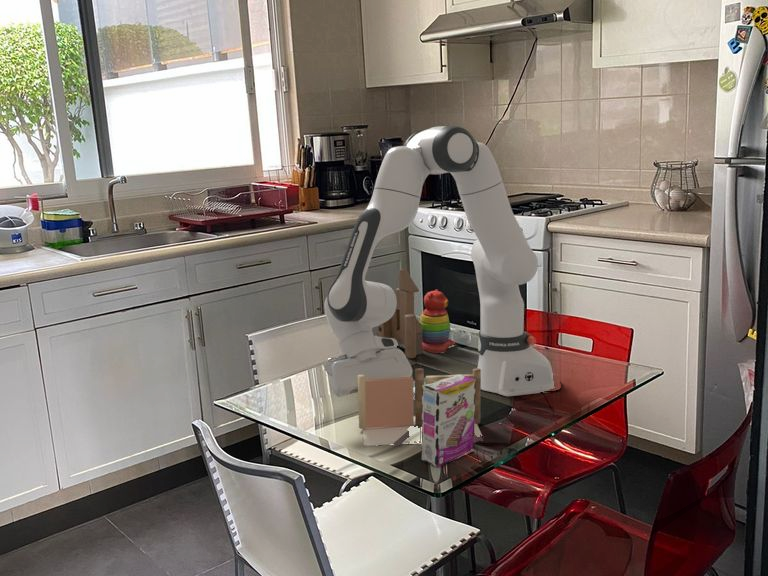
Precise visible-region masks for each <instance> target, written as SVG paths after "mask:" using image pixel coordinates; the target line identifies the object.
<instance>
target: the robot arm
mask: <svg viewBox="0 0 768 576" xmlns="http://www.w3.org/2000/svg"><path fill="white" fill-rule="evenodd" d="M447 173H450V174H451V176H452V177H453V179H454V181H455V185H456V187H457V191H458V195H459V197H460V200H461V203H462V207H463V209H464V213H465V216H466V219H467V222H468V224H469V226H470V227H471V229H472V231H473V232H474V234H475V236H476V238H477V239H476V240H474V242H473V244H472V245H471V249H470V257H471V260H472V262H473V265H474V270H475V276H476V277H475V279H476V282H477V283H476V284H477V288H478V289H477V290H478V293H479V294H478V295H479V304H480V314H479V315H480V327H479V328H480V330H478V337H477V342H478V343H477V350H478V351H477V352H478V362H477V368H478V369H481V391H485V392H489V393H490V392H491V393H494V394H498V395H502V396H505V397H514V396H515V397H516V396H523V395H524V396H525V395H532V394H541V393H540V392H543V393H545V392H544V391H548V390H550V389H553V388H555V387H554V381H553V374H554V373H553V369H552V364H551V362H550V360H549V359H548V358H547V357H546V356H545V355H543V354H542V353H541V352H539V351H538V350H537V349H535V348H534V347H533V346H534V345H535V344H537V339H536V338H535V337H534V336H533V335H531V334H530V333H528V332H527V331H526V330H525V331H524V327H525V326H524V324H525V322H524V321H525V320H524V319H525V317H524V315H525V302H524V300H523V297H522V295H521V292H520V287H519V286H520V285H521V286H522V285H524V284H527V283H529V282H530V281H531V280H533V278H534V277H535V276H536V274H537V272H538V268H539V260H538V257H537V255H536V253H535V252H534V251H533V249H532V248H531V246H530V244H529V242H528V240H527V238H526V236H525V234H524V232H523V230H522V228H521V225H520V224H519V222H518V220H517V219H516V218H517V217H516V216H515V214H514V212H513V208H512V206H511V203H510V201H509V197H508V193H507V190H506V188H505V184H504V180H503V178H502V175H501V172H500V169H499V167H498V164H497V162H496V160H495V158H494V155H493V154H492V152H491V150H490V148H489V147H488V145H486V144H485V143H483V142H479V141H476V140H475V138H474V137H473V135H472V134H471V133H470V132H469V131H468V130H467V129H465V128H464V127H461V126H458V125H444V126H443V125H441V126H439V125H438V126H433V127H429V128H428V129H427V128H426V129H425V130H424V129H423V130H418V131H416V132H414V133H413V134H411V135H410V136H409V137H408V138H407V139H406V140H405V143H404V144H403V145H400V146H394V147H391V148H389V149H388V151H387V152H386V153H385V154H384V158H383V160H382V162H381V165H380V167H379V171H378V174H377V177H376V179H375V183H374V187H373V188H374V189H373V192H372V195H371V199H370V201H369V202H368V205H367V207H366V208H365V210H363V211H362V212H361V213H360V214H359V216H358V218H357V220H356V222H355V224H354V227H353V230H352V232H351V235H350V238H349V239H348V240H349V241H348V244H347V246H346V250H345V251H344V255H343V258H342V261H341V263H340V266H339V269H338V272H337V274H336V276H334V277H335V278H334V279H333V281H332V282H331V284H330V286H329V289H328V291H327V296H326V298H325V300H324V302H323V303H324V307H323V308H324V313H325V317H326V320H327V323H328V326H329V328H330V330H331V333H332V335H333V336H334V338H336V340H337V345H338V350H339V352H340V354H341V355H338V356H333V357H329V358H327V360H325V362H324V365H323V366H324V370H325V372H326V374H327V375H328V379H329V382H330V386H331V390H332V392H333V394H334V395H335V396H336V397H345V396H348V395H353V394H358V375H361V374H363V375H366V380H370V379H384V378H399V377H413V371H414V370H413V368H412V366H411V364H410V361H409V360H408V358H406V356H405V352H404V351H402V350H401V349H400V348H399V347H397V346H398V343H397V341H396V339H393V338H385V337H379V336H377V335H374V332H373V329H374V328H377V327H378V326H380V325H382V324H384V323H385V322H387V321H389V320H390V319H391V318H392V317H393V316H394V314H395V312H396V309H397V296H396V294H395V289H394V288H393V287H391V285H388V284H385V283H383V282H382V283H381V282H377V281H369V280H366V275H367V271H368V269H369V266H370V263H371V260H372V257H373V254H374V250H375V248H376V246H377V244H378V243H379V242H380V241H381V240H382V239H384V238H385V237H387V236H389V235H392V234H395V233H398V232H401V231H403V230H405V229H406V228H408V227H409V226H411V225H412V224H413V223H414V220H415V218H416V215H417V214H418V210H419V206H420V201H421V197H422V192H423V186H424V183H425V181H426V179H427V177H428V176H429V175H443V174H447Z"/></svg>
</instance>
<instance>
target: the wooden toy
mask: <svg viewBox="0 0 768 576" xmlns="http://www.w3.org/2000/svg"><path fill="white" fill-rule="evenodd" d="M394 291H395V294H396V296H397V309H396V312H395V314H394V316H393V317H392V318H391V319H390V320H389V321H387V322H385V323H384V324H382V325H380V326H378V327H376V336H379V337H385V338H393V339H396V341H397V343H398V344H400V343H402V344H403V345H404V348H405V349H404V354H405V356H406V357H407V359H409V358H410V360H411V359H415V358H416V357H417V356H418V355H423V349H422V324H421V323H420V320H418V319H417V316H416V314H415V293H418V292H420V290H419V287H418V286H417V285H416V283H415V281H414V280H413V278H412V276H411V275H410V274H409V272H408V271H407V269H406V268H402V269H399V270H398V288H395V289H394Z"/></svg>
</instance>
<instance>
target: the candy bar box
mask: <svg viewBox="0 0 768 576" xmlns="http://www.w3.org/2000/svg"><path fill="white" fill-rule="evenodd" d="M454 375H455V376H452V377H448V378H445V379H442V380H439V381H435V382H432V383H429V384H426V383H424V385H422V444H421V461H423V462H424V463H426V462H427V464H428V463H430V464H432V465H434V466H433V467H435V466H436V467H435V468H439V467H441V466H444V465H446V464H448V462H449V461H451V460H453V459H455V458H457V457H459V456H461V455H463V454H465V453H466V452H468V451H470V450H471V449H473V448H474V449H475V442H474V423H475V383H476V380H475V379H473V378H470V377H467V376H464V375H465V374H460V373H458V374H454ZM453 461H454V460H453ZM451 462H452V461H451ZM445 463H446V464H445ZM449 463H450V462H449ZM430 464H429V465H430ZM443 464H444V465H443ZM432 465H431V466H432ZM438 466H439V467H438Z"/></svg>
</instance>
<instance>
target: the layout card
mask: <svg viewBox="0 0 768 576" xmlns="http://www.w3.org/2000/svg"><path fill="white" fill-rule="evenodd" d="M410 426H414V427H416V426H417V425H415V415H414V424H413V425H401V426H388V427H375V428H366V429H362V438H363V447H365V448H367V447H377V446H376V445H390V444H394V445H393V446H399V445H400V444H402V443H403V442H404V441H405V440H406V439H407V438H409V437H410V436H409V431H408V430H407V429H408V428H409V427H410ZM421 427H422V426H418V428H420V441H419V443H421ZM474 433H475V435H476V436H477V437H480V435H481V436H483V434H482V432H481V430H480V428H479V424H475V423H474ZM405 443H408V444H409V443H410V442H409V441H405ZM414 443H417V442H416V441H414ZM400 446H401V445H400Z"/></svg>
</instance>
